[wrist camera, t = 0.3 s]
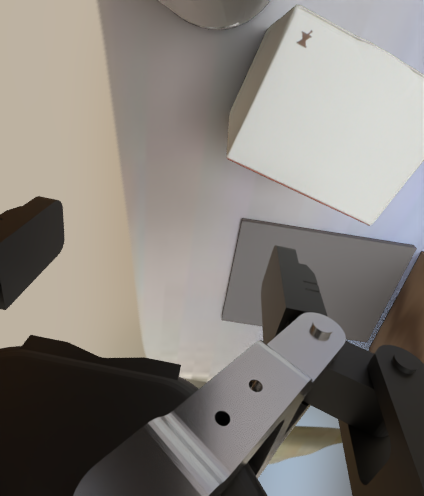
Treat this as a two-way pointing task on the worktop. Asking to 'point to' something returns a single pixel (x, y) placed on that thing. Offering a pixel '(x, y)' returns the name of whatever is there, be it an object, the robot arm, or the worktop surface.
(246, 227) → the mat
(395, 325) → the stand
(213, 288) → the worktop surface
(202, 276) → the worktop surface
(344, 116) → the small box
